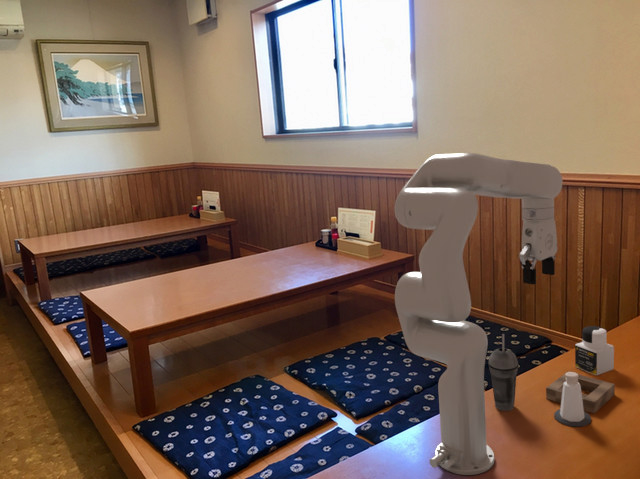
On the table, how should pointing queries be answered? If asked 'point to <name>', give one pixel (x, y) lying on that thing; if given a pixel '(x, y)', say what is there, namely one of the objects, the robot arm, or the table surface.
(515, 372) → the beverage cup
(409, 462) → the table surface
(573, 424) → the coaster
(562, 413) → the pepper shaker
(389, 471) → the table surface
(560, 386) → the board
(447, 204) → the robot arm
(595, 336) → the medicine bottle
